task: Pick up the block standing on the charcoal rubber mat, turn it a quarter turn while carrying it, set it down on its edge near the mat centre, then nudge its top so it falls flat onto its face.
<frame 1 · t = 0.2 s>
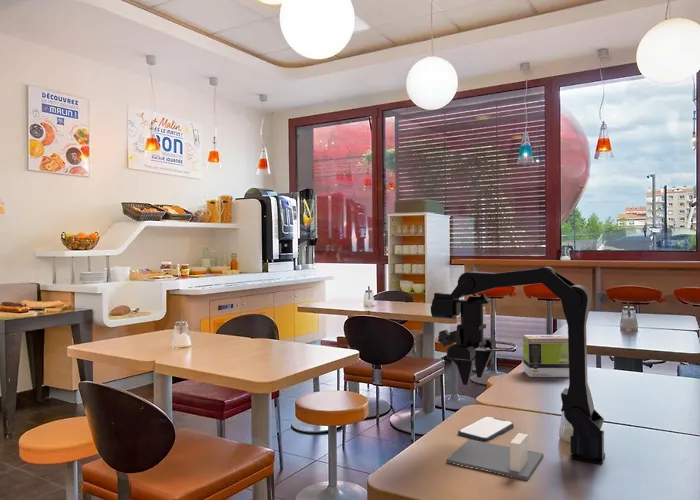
hand: (472, 381, 140), 14 cm above the table, tool pointing down, fingers open, 9 cm apart
mat: (495, 459, 125), on the table
block: (519, 465, 120), point 1 cm above the table, touching mat
tea box: (545, 375, 207), on the table
phone case: (486, 432, 145), on the table
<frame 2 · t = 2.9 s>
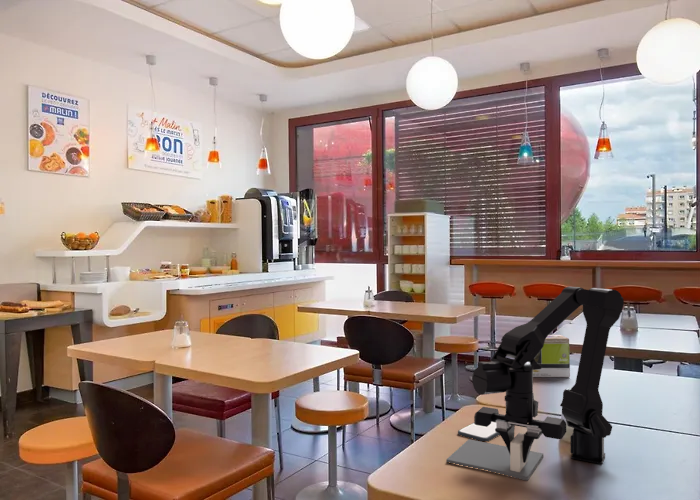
hand: (519, 460, 120), 2 cm above the table, tool pointing down, fingers closed on block, 2 cm apart
block: (519, 465, 120), point 1 cm above the table, touching gripper, mat
everything else where it was.
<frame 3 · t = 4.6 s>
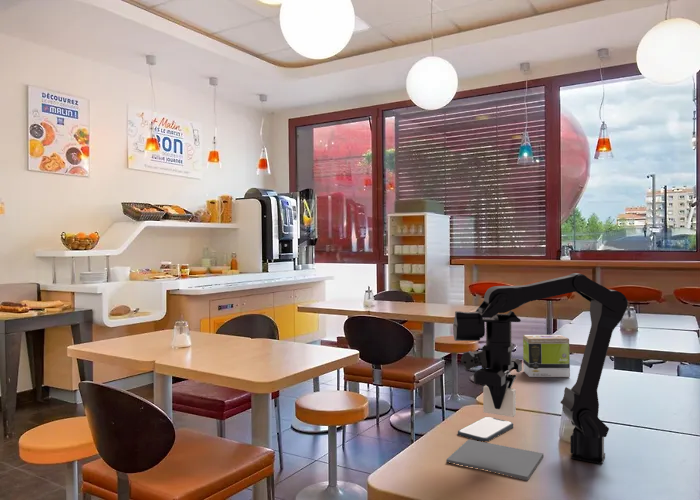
hand: (499, 407, 127), 11 cm above the table, tool pointing down, fingers closed on block
block: (499, 413, 127), point 10 cm above the table, touching gripper
everything else where it was.
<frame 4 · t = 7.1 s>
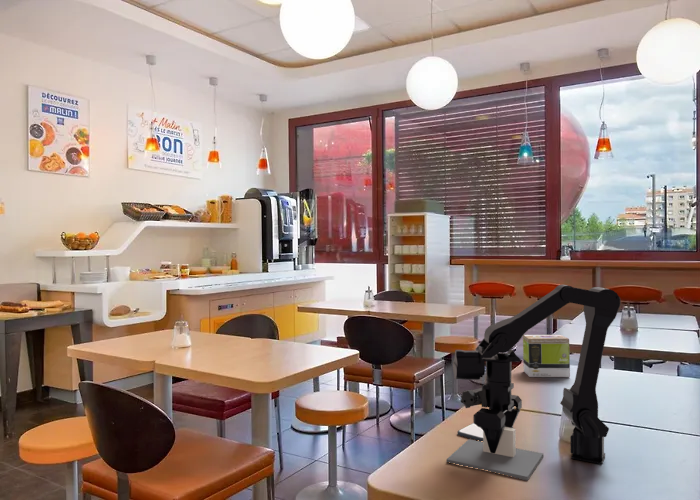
hand: (498, 446, 127), 2 cm above the table, tool pointing down, fingers open, 9 cm apart
block: (499, 452, 127), point 1 cm above the table, touching mat
everything else where it was.
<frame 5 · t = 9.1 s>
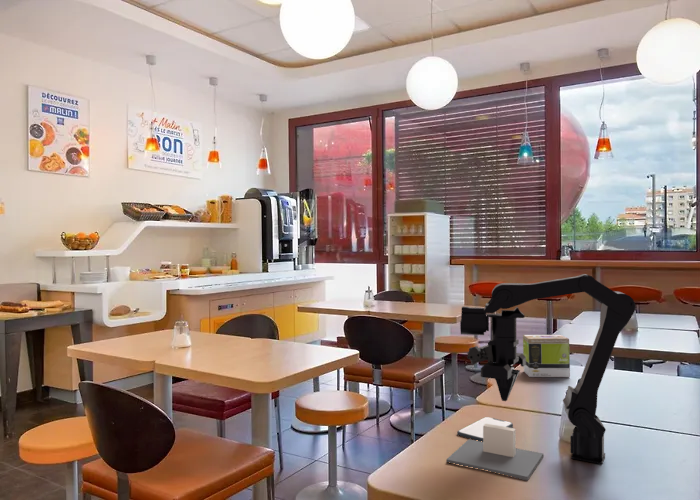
hand: (504, 400, 131), 12 cm above the table, tool pointing down, fingers closed
nothing on the table moved.
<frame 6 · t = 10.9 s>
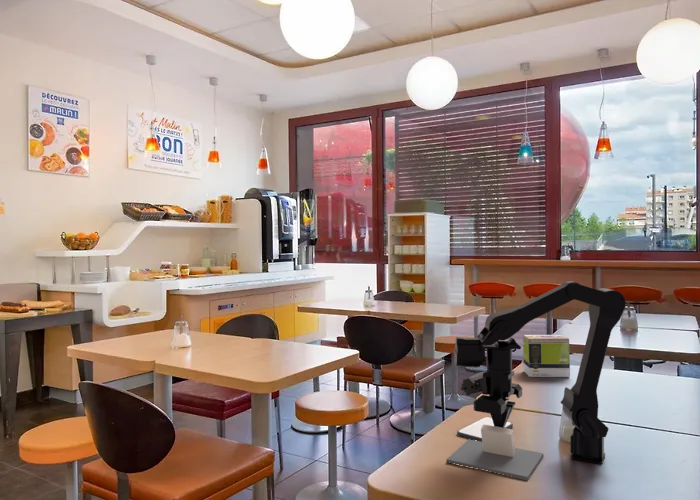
hand: (499, 433, 128), 5 cm above the table, tool pointing down, fingers closed
block: (499, 451, 127), point 1 cm above the table, tilted 17°, touching gripper, mat
everything else where it was.
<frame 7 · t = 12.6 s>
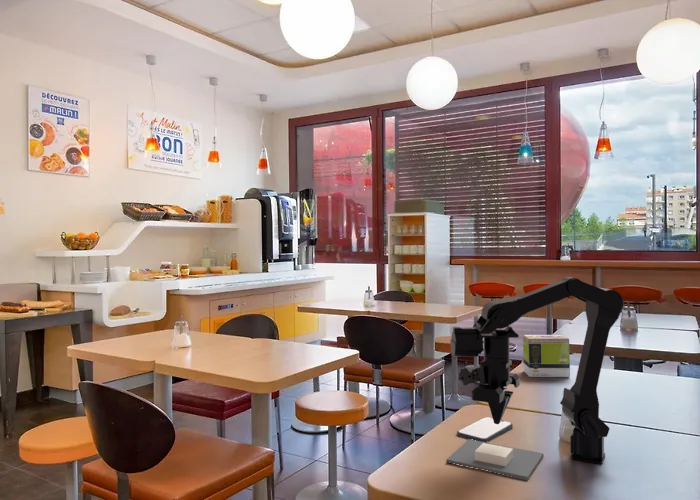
hand: (496, 423, 126), 8 cm above the table, tool pointing down, fingers closed
block: (497, 450, 126), point 2 cm above the table, tilted 90°, touching mat
everything else where it was.
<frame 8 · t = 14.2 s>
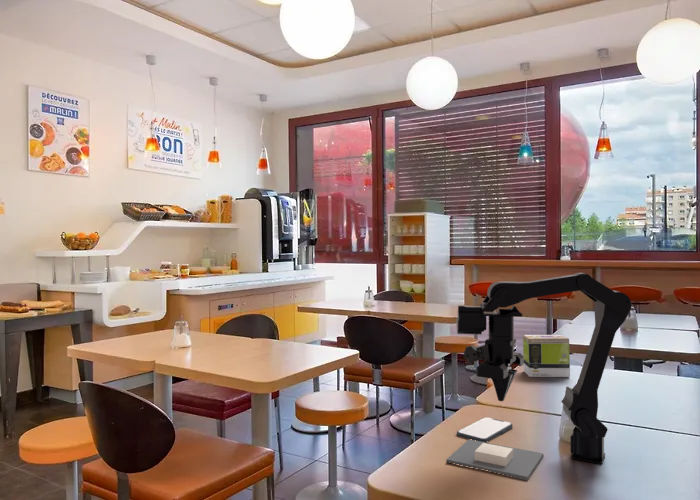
hand: (501, 400, 129), 12 cm above the table, tool pointing down, fingers closed
nothing on the table moved.
at the end: block tilted 90°; block inside the target area (1.6 cm from its centre), point 1.8 cm above the table; the gripper is holding nothing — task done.
